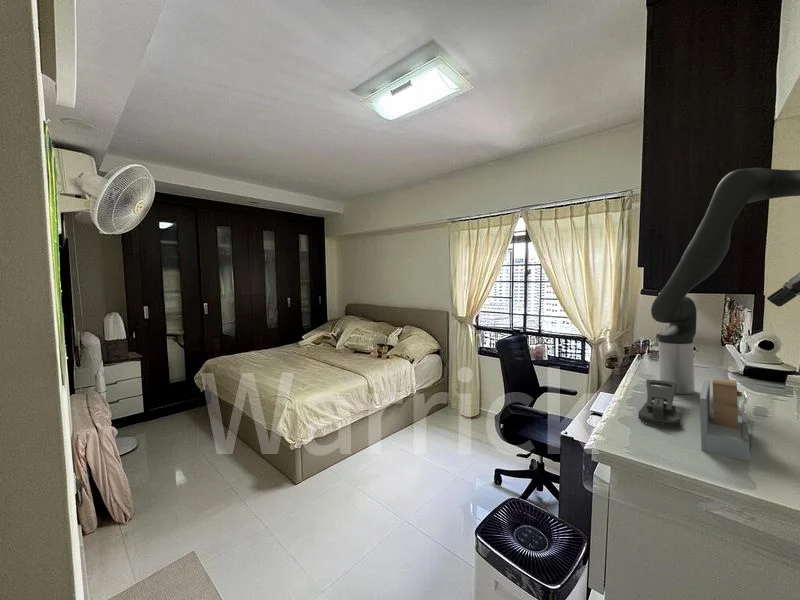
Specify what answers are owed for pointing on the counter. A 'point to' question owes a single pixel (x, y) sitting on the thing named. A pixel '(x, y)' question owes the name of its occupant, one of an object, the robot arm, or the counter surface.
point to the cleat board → (722, 431)
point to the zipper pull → (660, 405)
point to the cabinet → (725, 402)
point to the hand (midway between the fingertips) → (772, 302)
